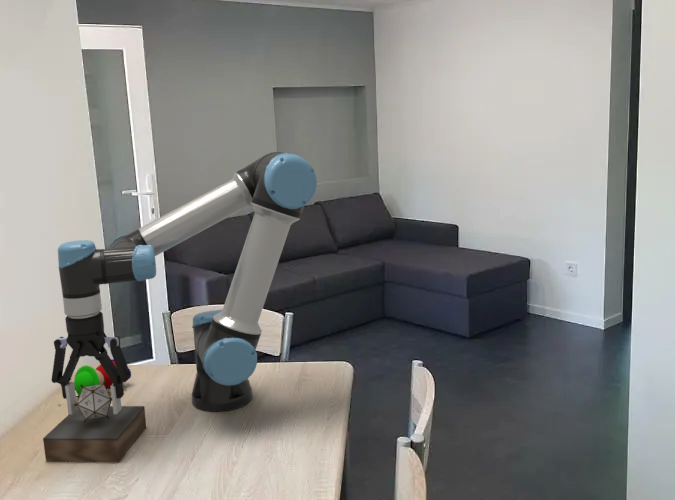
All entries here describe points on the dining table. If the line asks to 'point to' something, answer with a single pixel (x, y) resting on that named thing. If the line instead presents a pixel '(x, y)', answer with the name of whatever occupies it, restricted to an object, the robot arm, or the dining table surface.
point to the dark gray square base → (95, 436)
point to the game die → (94, 401)
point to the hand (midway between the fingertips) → (95, 411)
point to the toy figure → (92, 377)
